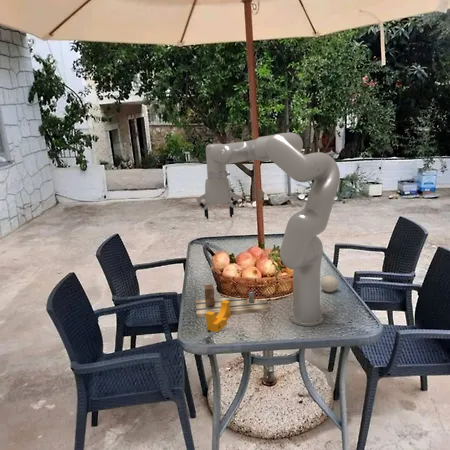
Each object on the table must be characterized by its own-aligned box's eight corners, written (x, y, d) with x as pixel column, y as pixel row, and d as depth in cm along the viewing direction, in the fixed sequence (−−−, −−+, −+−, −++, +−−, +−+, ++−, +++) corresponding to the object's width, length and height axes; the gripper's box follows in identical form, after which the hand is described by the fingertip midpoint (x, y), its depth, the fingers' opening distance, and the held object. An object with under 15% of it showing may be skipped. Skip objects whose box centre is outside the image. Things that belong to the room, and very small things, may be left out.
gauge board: (264, 297, 169) (263, 293, 168) (269, 311, 157) (269, 306, 157) (195, 303, 167) (195, 299, 166) (196, 317, 155) (196, 313, 154)
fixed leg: (254, 300, 163) (253, 290, 162) (254, 303, 161) (254, 292, 160) (248, 301, 163) (248, 290, 162) (249, 303, 161) (249, 292, 160)
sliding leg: (214, 302, 163) (213, 284, 161) (214, 306, 159) (213, 288, 157) (205, 302, 162) (204, 285, 161) (205, 307, 159) (204, 289, 157)
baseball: (341, 292, 170) (341, 277, 168) (325, 295, 168) (325, 280, 166) (333, 286, 176) (333, 272, 174) (317, 289, 174) (317, 274, 172)
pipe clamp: (217, 332, 144) (216, 315, 142) (207, 329, 146) (205, 313, 144) (234, 318, 154) (233, 302, 152) (224, 315, 156) (223, 300, 154)
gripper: (237, 172, 167) (239, 214, 171) (194, 175, 165) (197, 216, 170) (239, 175, 159) (241, 218, 164) (195, 178, 158) (198, 221, 162)
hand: (219, 217), depth 167 cm, fingers open, 9 cm apart
